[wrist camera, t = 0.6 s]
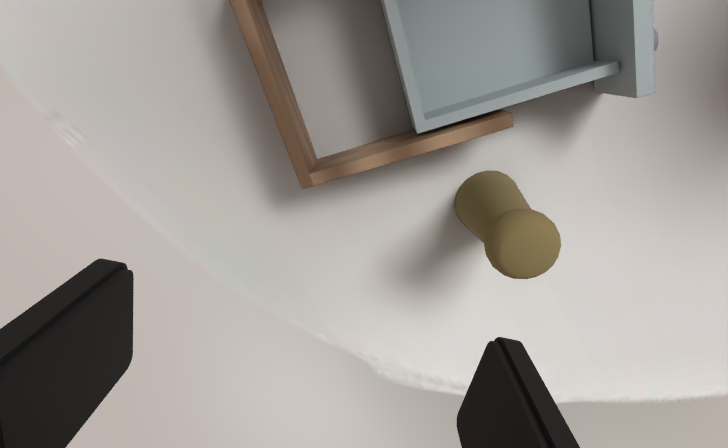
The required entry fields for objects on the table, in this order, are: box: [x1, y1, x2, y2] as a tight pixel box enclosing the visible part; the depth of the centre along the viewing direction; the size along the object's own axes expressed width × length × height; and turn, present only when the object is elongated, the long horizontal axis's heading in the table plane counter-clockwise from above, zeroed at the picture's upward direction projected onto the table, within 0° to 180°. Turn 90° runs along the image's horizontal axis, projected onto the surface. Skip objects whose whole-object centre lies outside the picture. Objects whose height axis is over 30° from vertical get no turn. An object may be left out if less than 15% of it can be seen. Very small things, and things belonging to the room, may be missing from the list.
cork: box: [455, 171, 561, 279], centre depth 32 cm, size 6×6×11 cm
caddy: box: [230, 0, 514, 189], centre depth 30 cm, size 17×17×5 cm
